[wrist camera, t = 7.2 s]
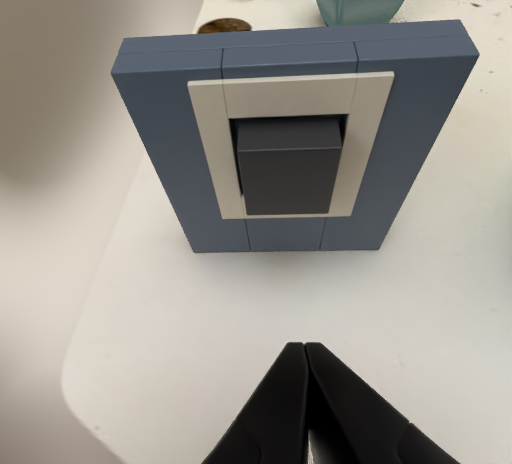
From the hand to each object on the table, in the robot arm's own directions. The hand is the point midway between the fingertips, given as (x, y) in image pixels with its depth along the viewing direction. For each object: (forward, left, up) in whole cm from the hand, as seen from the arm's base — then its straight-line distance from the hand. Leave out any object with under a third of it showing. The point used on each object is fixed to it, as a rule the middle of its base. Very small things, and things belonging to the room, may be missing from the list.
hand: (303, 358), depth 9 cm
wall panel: (+10, +5, -14) cm, 18 cm away
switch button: (+9, +4, -6) cm, 11 cm away
